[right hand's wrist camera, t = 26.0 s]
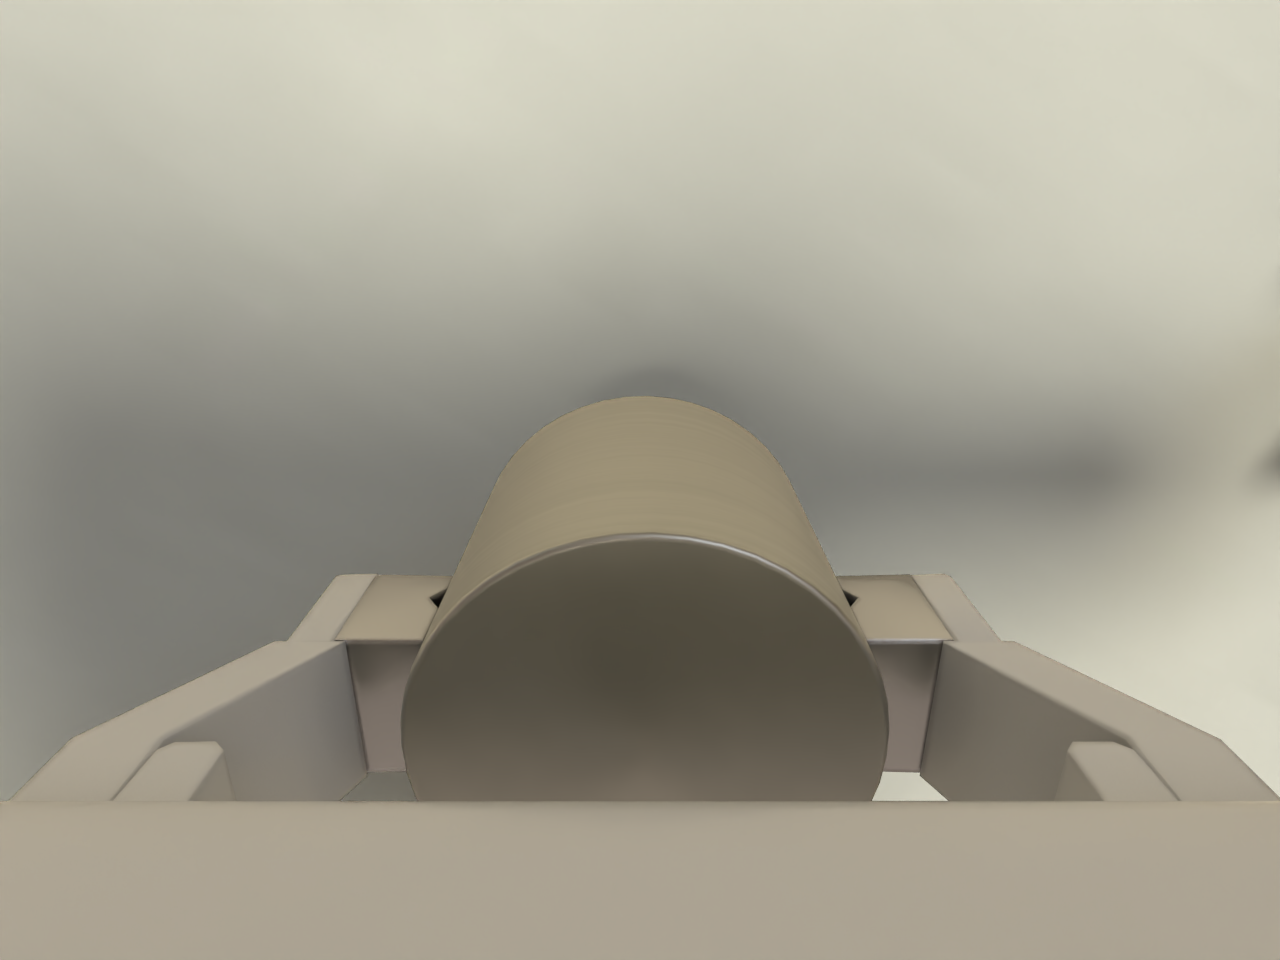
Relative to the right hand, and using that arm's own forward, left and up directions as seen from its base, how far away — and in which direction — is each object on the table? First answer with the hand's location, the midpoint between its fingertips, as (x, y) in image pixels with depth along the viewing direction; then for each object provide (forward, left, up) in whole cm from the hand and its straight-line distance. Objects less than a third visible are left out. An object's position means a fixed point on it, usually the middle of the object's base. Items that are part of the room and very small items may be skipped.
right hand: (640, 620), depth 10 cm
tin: (0, 0, -2) cm, 2 cm away
